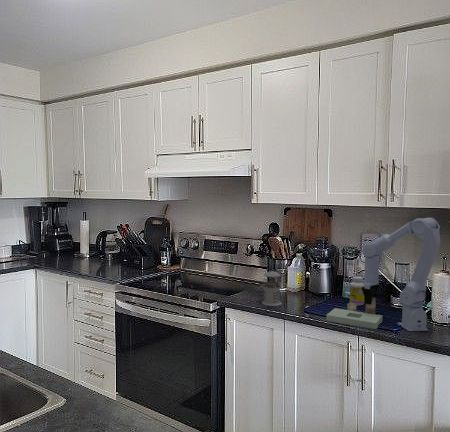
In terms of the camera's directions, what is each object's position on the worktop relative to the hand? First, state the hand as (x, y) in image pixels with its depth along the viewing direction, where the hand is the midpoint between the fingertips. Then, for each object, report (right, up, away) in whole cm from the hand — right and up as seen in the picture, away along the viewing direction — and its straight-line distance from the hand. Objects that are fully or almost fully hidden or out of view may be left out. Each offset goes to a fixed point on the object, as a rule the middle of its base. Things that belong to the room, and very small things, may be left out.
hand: (370, 302), depth 185 cm
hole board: (-9, -7, -7) cm, 13 cm away
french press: (-40, -5, +21) cm, 45 cm away
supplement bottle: (0, -5, +20) cm, 21 cm away
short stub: (-7, -6, +4) cm, 10 cm away
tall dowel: (0, -6, 0) cm, 6 cm away
